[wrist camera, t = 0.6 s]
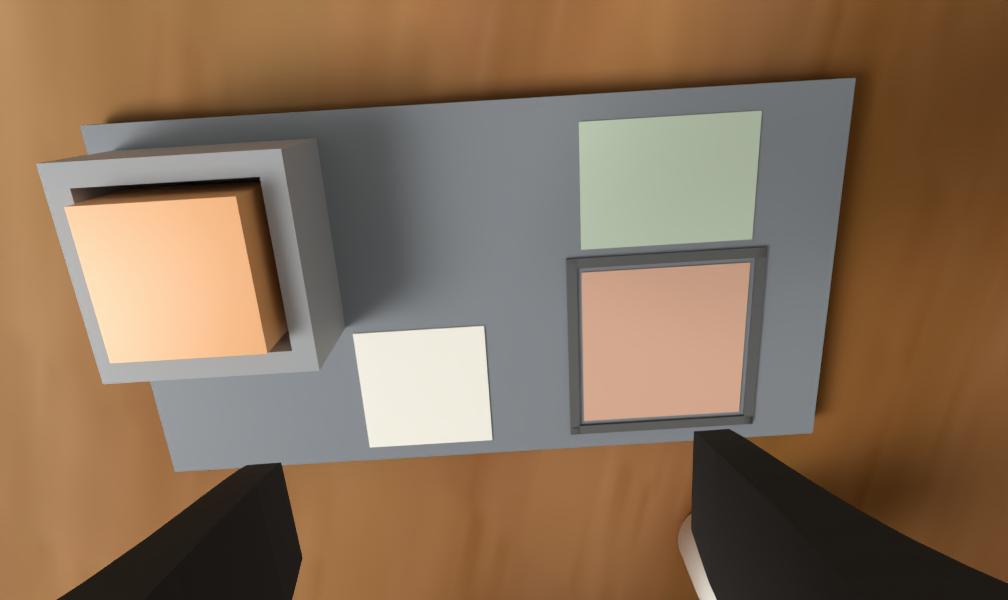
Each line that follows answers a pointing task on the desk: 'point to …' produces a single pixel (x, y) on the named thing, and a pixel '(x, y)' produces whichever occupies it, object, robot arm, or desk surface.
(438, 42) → the desk surface
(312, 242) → the grey sorting board
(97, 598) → the robot arm
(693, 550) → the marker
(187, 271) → the button
